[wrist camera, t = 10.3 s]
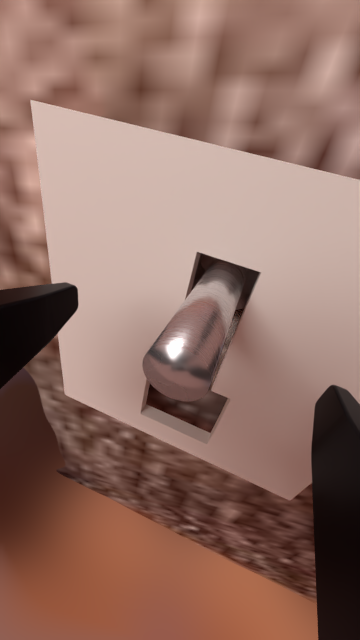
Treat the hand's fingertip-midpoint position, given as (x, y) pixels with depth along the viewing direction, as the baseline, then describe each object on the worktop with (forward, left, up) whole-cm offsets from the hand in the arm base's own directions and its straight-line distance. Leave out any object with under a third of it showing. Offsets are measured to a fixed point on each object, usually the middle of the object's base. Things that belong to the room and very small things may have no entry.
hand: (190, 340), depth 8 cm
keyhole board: (0, +5, -7) cm, 9 cm away
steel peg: (0, 0, -7) cm, 7 cm away
